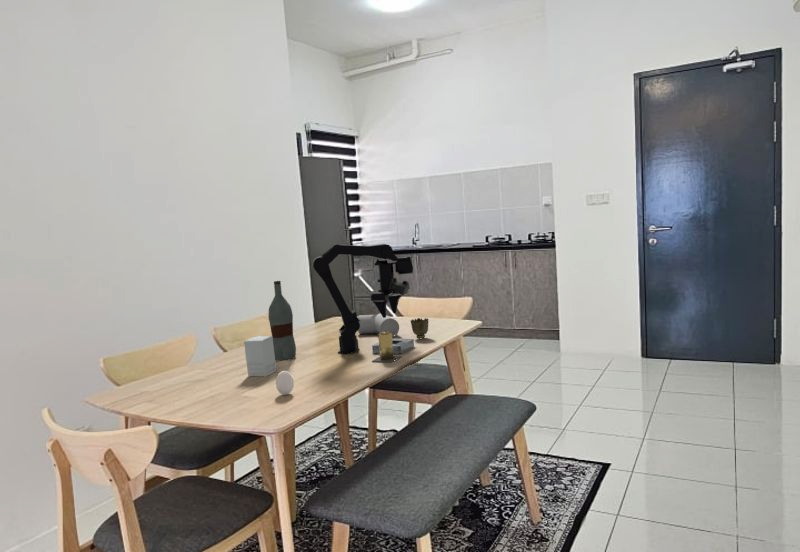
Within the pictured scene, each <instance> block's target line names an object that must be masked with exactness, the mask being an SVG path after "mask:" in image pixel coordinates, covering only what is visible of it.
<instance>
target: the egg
mask: <svg viewBox="0 0 800 552" xmlns="http://www.w3.org/2000/svg"><path fill="white" fill-rule="evenodd" d="M294 385H295V383H294V378H293V376H292V374H291V373H290V372H289V371H287V370H282V371H280V372H279V373H278V374H277V376H276V379H275V387H276V389H277V391H278V393H280V394H281V395H283V396H286V395H287V396H288V395H289V394H290V393H291V392H292V391H293V390H294Z"/></svg>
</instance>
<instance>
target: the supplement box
mask: <svg viewBox="0 0 800 552" xmlns="http://www.w3.org/2000/svg"><path fill="white" fill-rule="evenodd" d="M243 345H244V353H245V361H246V368H247V376H248V377H267V376H268V375H271V374H273V373H275V372H277V365H276V361H275V354H274V346H273V337H272V335H267V336H266V335H265V336H259V335H258V336H253V337H251V338H248V339H246V340H244V341H243Z"/></svg>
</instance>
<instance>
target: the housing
mask: <svg viewBox="0 0 800 552" xmlns="http://www.w3.org/2000/svg"><path fill="white" fill-rule="evenodd" d="M392 344H393V353H402V354H404V353H406V352H407V351H409V350H411V349H412V347H413V346H414V347H415V341H414V338H392ZM371 346H372V347H371V348H372V354H380V349H379V341H378V342H377V343H373V344H372V345H371ZM414 347H413V348H414ZM410 348H411V349H410ZM408 349H409V350H408ZM406 350H407V351H406ZM405 351H406V352H405ZM403 352H404V353H403Z"/></svg>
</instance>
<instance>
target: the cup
mask: <svg viewBox="0 0 800 552" xmlns="http://www.w3.org/2000/svg"><path fill="white" fill-rule="evenodd" d="M410 325H411V330H412V333H413V334H414V335H415V337H416V339H417V338H424V337H425V338H426V334H427V333H428V330H429V318H427V317H425V318H421V317H420V318H419V317H418V318H417V319H416V318H412V319H411V320H410ZM425 338H424V339H425Z"/></svg>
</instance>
